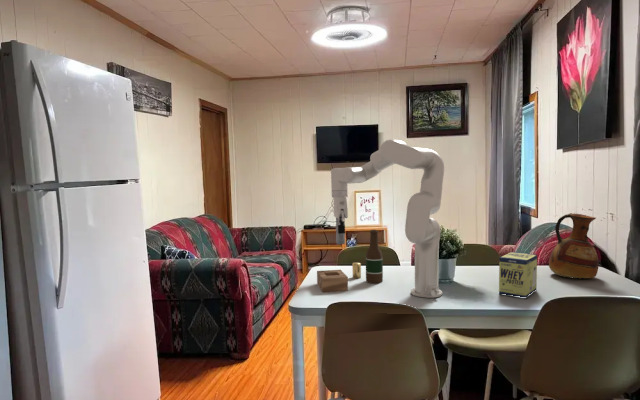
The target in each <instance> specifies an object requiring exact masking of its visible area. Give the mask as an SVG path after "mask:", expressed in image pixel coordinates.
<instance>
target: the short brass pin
mask: <svg viewBox="0 0 640 400" xmlns="http://www.w3.org/2000/svg"><path fill="white" fill-rule="evenodd" d="M351 270H352V279H355V280H359V279H361V278H362V263H361V262H352V269H351Z"/></svg>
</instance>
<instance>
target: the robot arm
mask: <svg viewBox="0 0 640 400" xmlns="http://www.w3.org/2000/svg"><path fill="white" fill-rule="evenodd" d="M369 160H370V161H368V162H367V163H364V164H363V165H361V166H348V167H335V168H331V171H330V179H331V180H330V182H331V184H330V185H331V186H330V188H331V199H332V198H333V217H335V219H336V218H338V222H339V225H338V233H339V234H343V233H345V234H346V223H345V221H346V220H345V219H348V218H349V215H348V214H349V213H348V212H349V211H348V210H349V209H348V201H347V200H348V199H347V198H349V197H348V194H349V192H348V184H361V183H366V181H369V180H370V179H371V180H372V179H373V178H374V177H377V176H378V175H379V174H380V173H381V172H382V171H383V170H385V169H387V168H390V167H392V166H393V165H395V164H396V165H398V166H401V167H404V168H406V169H411V170H423V174H422V177H421V180H420V189H419V192H416V193H414V194H413V195H412V196H410V198H409V200H408V202H407V207H406V216H405V217H406V218H405V224H404V225H405V226H404V228H405V229H404V231H405V237H406V239H407V240H408V242H410V243H412V244H414V287H413V288H412V289H410V294H412V296H415V297H419V298H423V299H424V298H426V299H429V298H430V299H432V298H433V299H434V298H440V297H441V296H442V295H443V291H442V290H441V289H440V288H439V258H440V257H439V249H440V240H441V226H440V223H439V222H438V221H437V220H436V219H434V218H433V217H430V216H432V215H434V214H437V213H438V212H439V210H441V204H442V203H441V202H442V194H443V182H444V174H445V163H444V160H443V158H442V156H441V155H440V154H439V153H437V152H436V151H434V150H433V149H429V148H425V147H424V148H423V147H414V146H410V145H408V144H407V143H406V142H405V141H403V140H401V139H400V140H399V139H386V140H385V141H383V142H382V143H381V145H380V146H379V149H378V150H376V151H374V152H373V153H371V155H370V158H369ZM339 215H340V217H341V218H339Z"/></svg>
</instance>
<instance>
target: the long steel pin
mask: <svg viewBox="0 0 640 400" xmlns="http://www.w3.org/2000/svg"><path fill="white" fill-rule="evenodd" d="M339 218H341V217H340V215H339ZM338 225H339V222H338V218H336V217H335V232H336V233H335V234H336V235H335V236H336V238H335V239H336V241H335V243H336V245H346V232H345V233H343V234H339V233H338Z"/></svg>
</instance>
